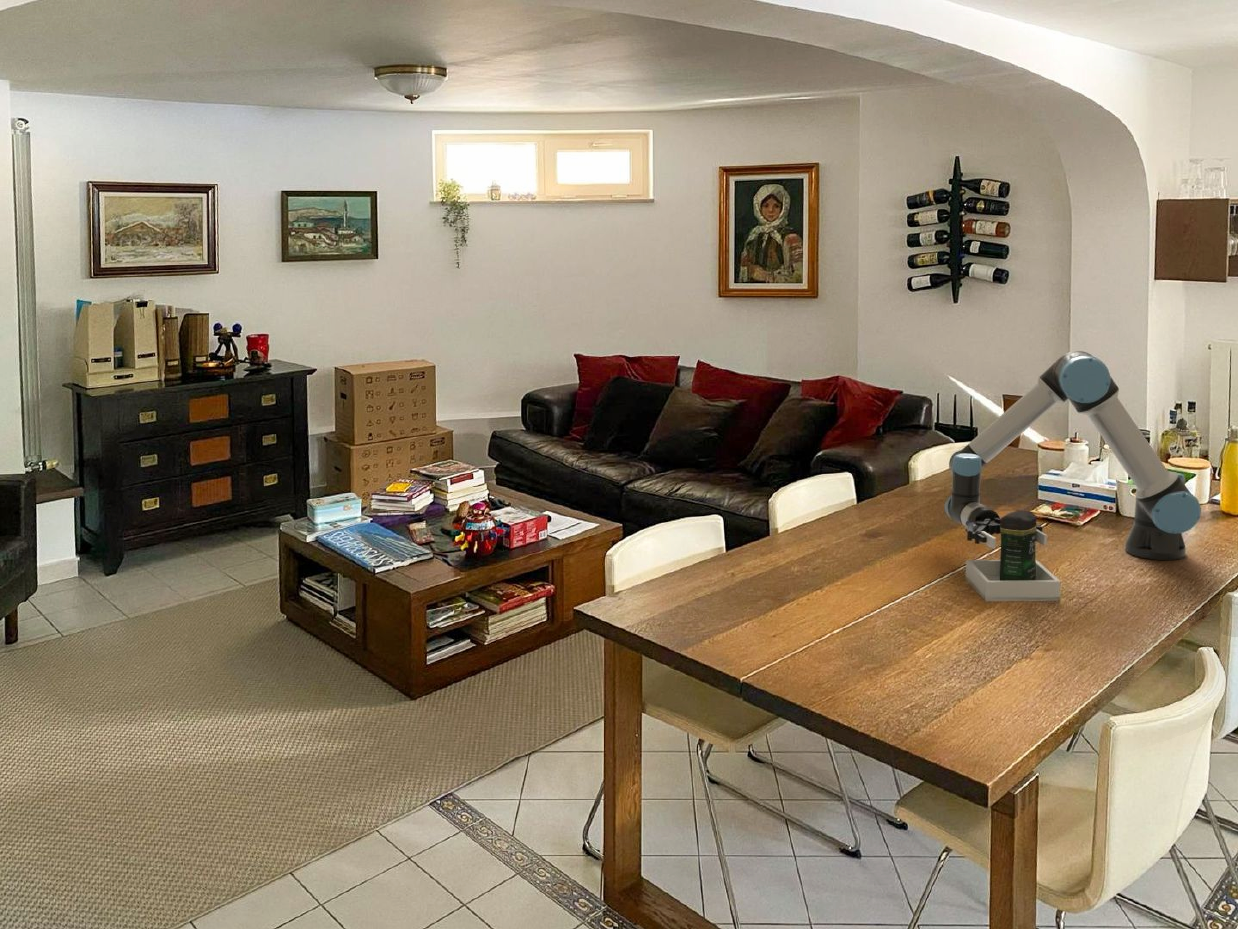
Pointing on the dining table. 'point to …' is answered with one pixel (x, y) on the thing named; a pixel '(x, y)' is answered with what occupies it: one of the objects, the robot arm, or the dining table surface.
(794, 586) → the dining table surface
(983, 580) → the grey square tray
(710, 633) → the dining table surface
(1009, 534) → the coffee jar
